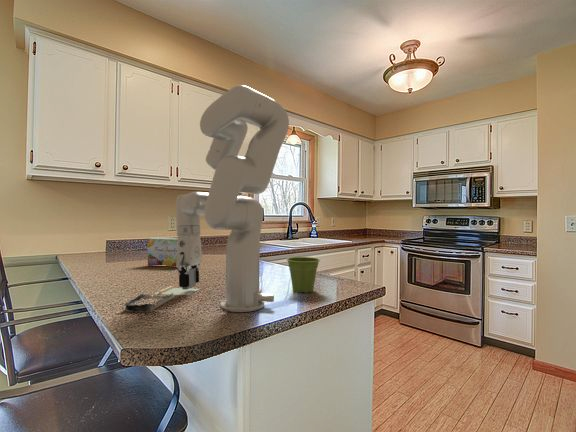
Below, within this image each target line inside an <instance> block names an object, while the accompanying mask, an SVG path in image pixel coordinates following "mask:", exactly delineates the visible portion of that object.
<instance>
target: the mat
mask: <svg viewBox="0 0 576 432" xmlns="http://www.w3.org/2000/svg"><path fill="white" fill-rule="evenodd" d="M199 290H200V288H189V289H187V290H183V287H174V285H170V286H167V287H165V288H163V289H160V290H158V291H157V292H154V293H153V295H171V294H172V293H173V296H176V295H177V296H189V295H192V294H194V293H195V292H197V291H199Z"/></svg>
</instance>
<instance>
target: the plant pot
mask: <svg viewBox="0 0 576 432" xmlns="http://www.w3.org/2000/svg"><path fill="white" fill-rule="evenodd" d="M286 261H287V263H288V267H289V272H290V279H291V287H292V291H294V292H295V293H298V292H299V293H298V294H300V293H304V294H306V293H307V294H308V292H309V293H312V292H314V288H315V281H316V277H317V276H316V275H317V271H318V270H317V269H318V266H319V263H320V261H321V259H320V258H316V257H312V256H311V257H307V256H293V257H288V258H286Z"/></svg>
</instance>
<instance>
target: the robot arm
mask: <svg viewBox="0 0 576 432" xmlns="http://www.w3.org/2000/svg"><path fill="white" fill-rule="evenodd" d="M248 124H250V125H251V126H256V127H258V128H259V130H258V131H257V132H256V133H255V134H253V136H252V137H251V139H250V141H249V142H248V143H249V144H248V147H247V150H246V153H245V155H244V156H240V155H239V153H240V150H241V149H242V147H243V144H244V141H245V140H246V139H245V138H246V137H247V134H248V129H249V127H248ZM289 124H290V120H289V115H288V113H287V111H286V109H285V108H284V107H283V106H282V104H280V103H279V102H277V101H276V100H275V99H273V98H271V97H269V96H267V95H266V94H263V93H261V92H259V91H257V90H255V89H253V88H251V87H249V86H247V85H244V84H243V85H242V84H239V85H235V86H233V87H231V88H230V89H228V90H227V91H226V92H225V93H223V94H222V95H221V96H220V97H218V98H217V99H216V100H214V101H213V102H212V103H211V104H210V105H208V107H207V108H206V109H205V111H204V112H203V113H202V115H201V117H200V120H199V129H200V130H201V131H200V132H201V133H202V134H203V135H204V136H206V137H208V138H212V141H211V144H210V146H209V149H208V151H207V154H206V157H205V162H206V164H207V165H208V166H209V167H211V168H212V169H213V170H214V174H213V177H212V181H211V184H210V188H209V191H208V192H203V191H191V192H188V193H186V194H179V195H177V197H176V237H177V238H178V241H177V263H176V266H177V267H176V268H177V271H178V284H179V285H178V286H179V287H178V288H183V287H189V274H188V270H189V269H190V268H196V284H197V283H199V282H200V266H201V263H202V262H203V254H202V253H203V250H202V240H201V216H204V220H205V222H206V224H207V226H208V227H210V228H212V229H214V230H218V231H230V233H229V236H228V238H227V241H226V245H225V246H226V248H225V249H226V252H225V254H226V255H225V258H226V261H225V266H226V267H225V299H223V300H221V301H220V304H219V307H220V308H222V309H223V310H226V311H227V312H230V313H248V312H253V311H254V312H255V311H257V310H258V311H259V310H261V309H262V308H264V307H265V302H268V303H274V301H275V295H273V294H272V293H264V292H262V291H263V289H262V288H260V248H261V246H260V245H261V231H262V227H263V226H262V225H263V220H264V209H263V206H262V205H261V203H260V202H259V201H258V200H257V199H255V198H254V197H252V196H251V197H250V196H243V195H239V194H240V193H241V194H250V195H251V194H252V195H260V194H263V193H264V192H265V191H266V189H267V188H268V186H269V184H270V181H271V178H272V175H273V172H274V169H275V165H276V163H277V159H278V157H279V153H280V150H281V148H282V145H283V143H284V141H285V139H286V137H287V134H288V131H289V128H290V127H289Z"/></svg>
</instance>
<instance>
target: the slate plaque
mask: <svg viewBox="0 0 576 432" xmlns="http://www.w3.org/2000/svg"><path fill="white" fill-rule="evenodd" d="M188 274H189V287H182V288H183V290H187V289H189V288H190V289H193V288H194V287H196V286H197V283H196V268H190V267H189V270H188Z"/></svg>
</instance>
